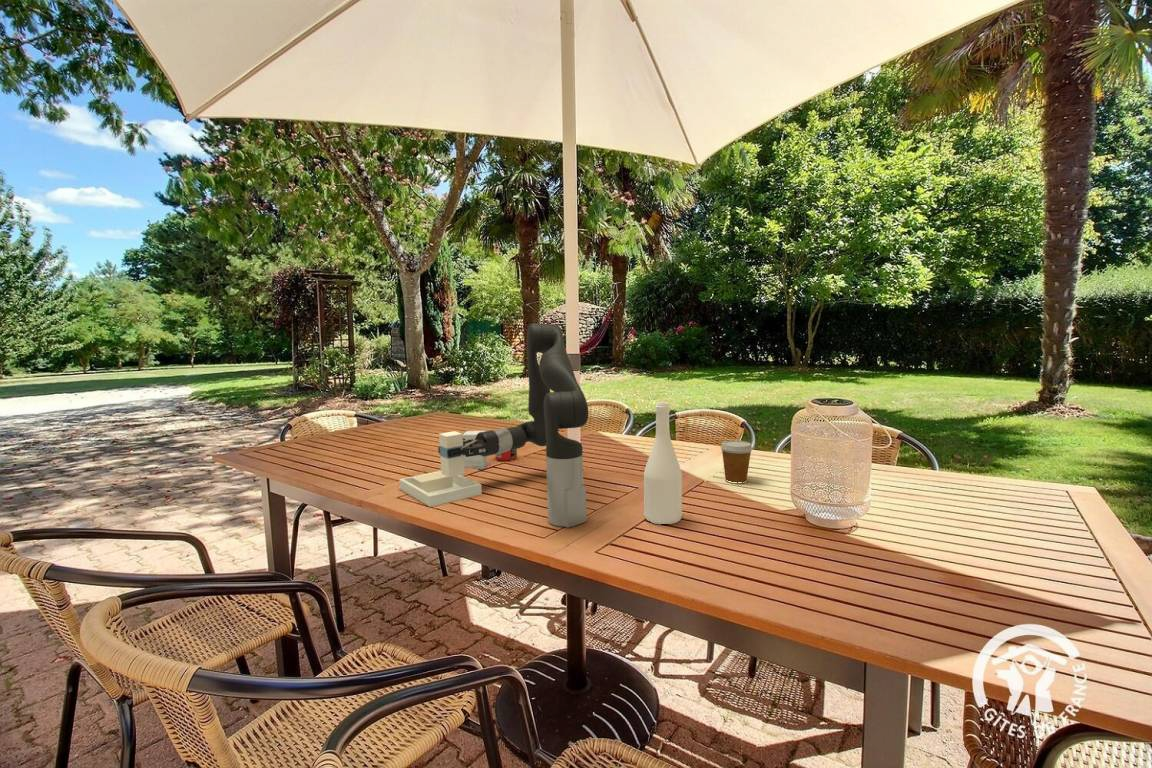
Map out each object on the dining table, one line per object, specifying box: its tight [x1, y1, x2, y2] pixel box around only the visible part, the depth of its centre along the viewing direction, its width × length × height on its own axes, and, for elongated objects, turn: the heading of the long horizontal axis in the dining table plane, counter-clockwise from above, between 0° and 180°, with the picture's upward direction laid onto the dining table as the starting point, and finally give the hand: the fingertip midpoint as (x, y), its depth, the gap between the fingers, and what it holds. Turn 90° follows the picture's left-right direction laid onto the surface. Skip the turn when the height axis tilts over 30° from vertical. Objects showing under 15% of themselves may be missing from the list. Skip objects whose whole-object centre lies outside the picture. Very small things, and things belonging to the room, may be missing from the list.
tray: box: [398, 470, 483, 508], centre depth 159 cm, size 22×16×4 cm
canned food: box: [495, 449, 518, 462], centre depth 198 cm, size 8×8×11 cm
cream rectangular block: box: [411, 471, 453, 493], centre depth 162 cm, size 7×10×4 cm
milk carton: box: [438, 430, 466, 477], centre depth 155 cm, size 5×5×12 cm
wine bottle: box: [643, 401, 683, 525], centre depth 134 cm, size 10×10×30 cm
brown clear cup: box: [720, 439, 753, 483], centre depth 165 cm, size 10×10×12 cm
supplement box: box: [462, 430, 488, 470], centre depth 188 cm, size 7×7×13 cm
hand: (443, 452), depth 153 cm, fingers closed on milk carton, 5 cm apart
